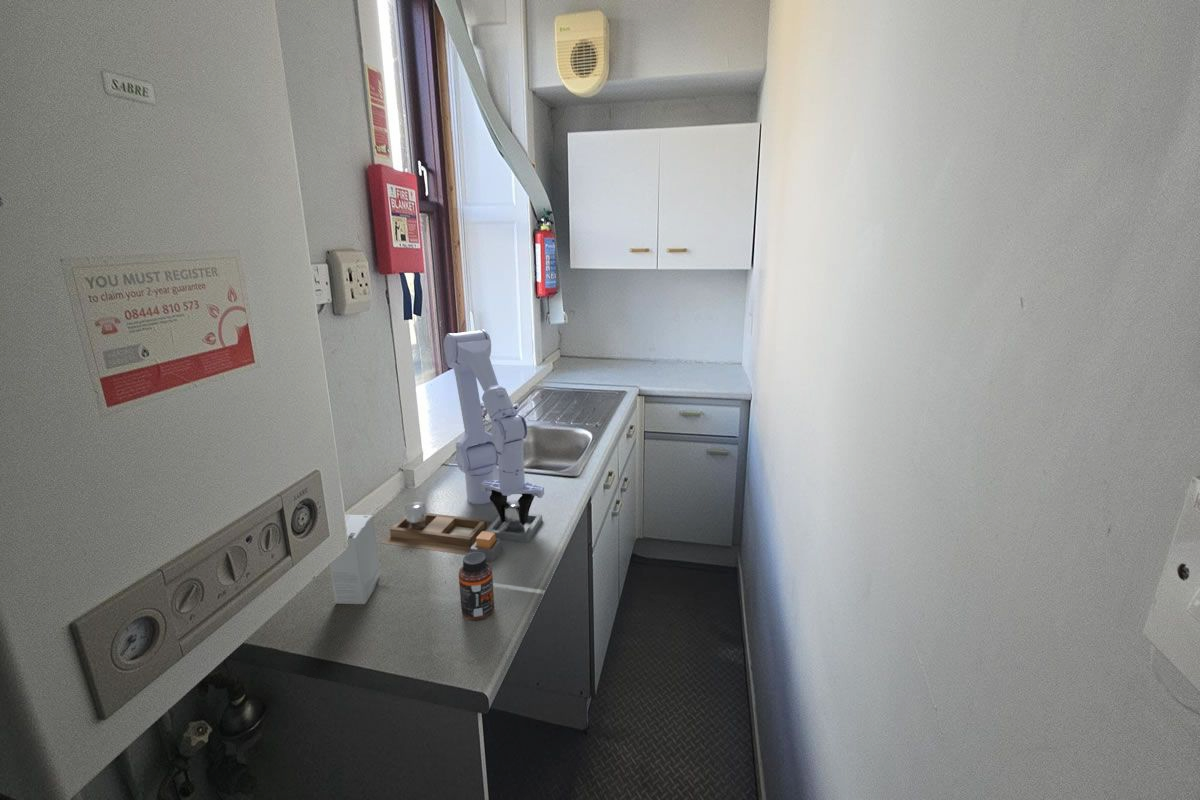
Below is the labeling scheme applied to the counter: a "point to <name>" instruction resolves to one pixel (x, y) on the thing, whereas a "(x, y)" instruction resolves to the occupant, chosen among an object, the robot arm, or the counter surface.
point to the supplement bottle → (476, 587)
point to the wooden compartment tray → (439, 533)
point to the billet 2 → (513, 517)
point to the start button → (485, 540)
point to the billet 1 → (416, 515)
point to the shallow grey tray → (521, 536)
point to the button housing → (489, 550)
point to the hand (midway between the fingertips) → (514, 521)
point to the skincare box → (356, 562)
